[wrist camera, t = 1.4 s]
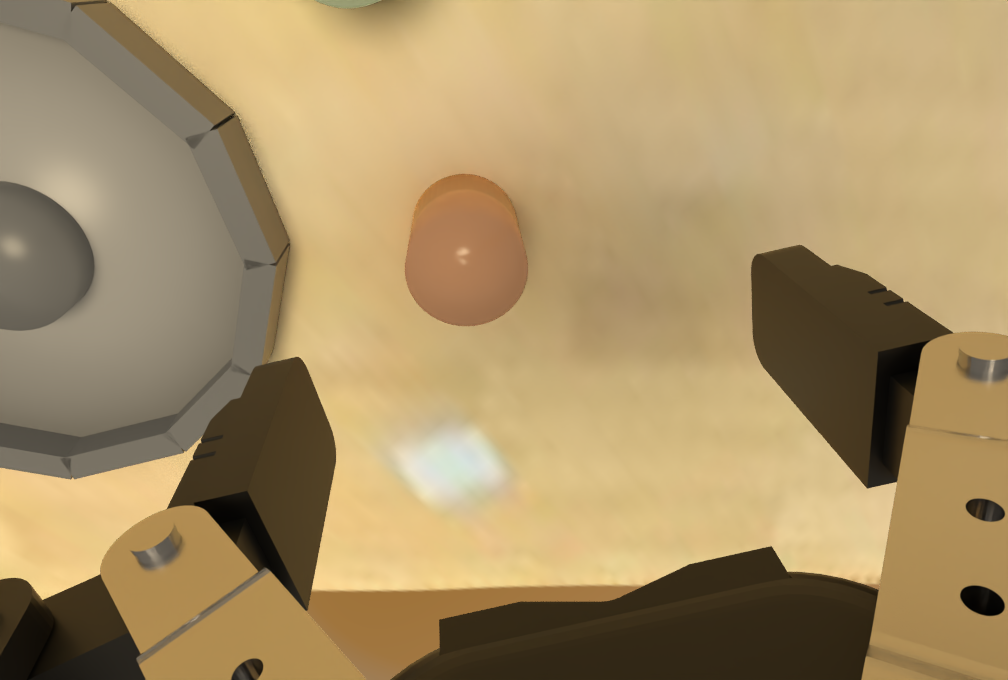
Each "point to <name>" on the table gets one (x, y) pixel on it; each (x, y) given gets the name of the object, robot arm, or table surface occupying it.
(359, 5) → the pale green rounded cylinder
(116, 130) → the ring tray
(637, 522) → the table surface
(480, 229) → the terracotta bead
